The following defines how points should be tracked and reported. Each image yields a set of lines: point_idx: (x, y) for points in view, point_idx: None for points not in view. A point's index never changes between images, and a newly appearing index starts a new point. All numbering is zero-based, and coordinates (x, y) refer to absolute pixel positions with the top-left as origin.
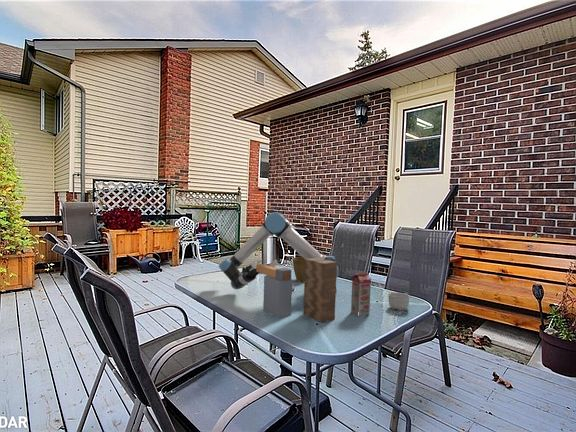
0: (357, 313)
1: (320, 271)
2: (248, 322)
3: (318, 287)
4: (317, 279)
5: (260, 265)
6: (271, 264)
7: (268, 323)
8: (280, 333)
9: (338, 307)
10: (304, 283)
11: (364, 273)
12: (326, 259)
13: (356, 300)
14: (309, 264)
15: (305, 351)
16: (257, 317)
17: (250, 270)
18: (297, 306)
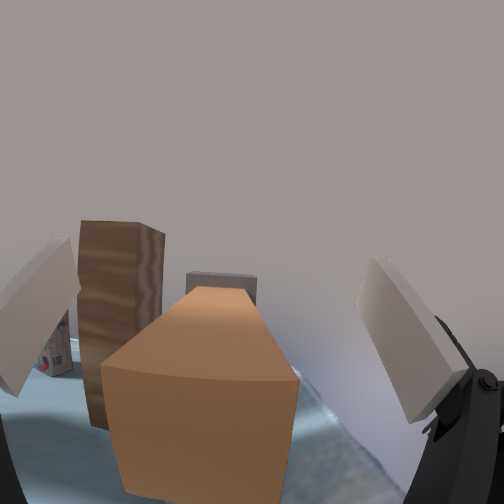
0: (69, 363)
1: (159, 259)
2: (368, 457)
3: (156, 312)
4: (155, 288)
5: (265, 335)
6: (18, 329)
7: (305, 441)
8: (301, 402)
9: (22, 393)
10: (134, 329)
11: None
12: None
13: (62, 335)
14: (145, 243)
15: (291, 366)
16: (325, 483)
17: (414, 409)
18: (75, 475)
